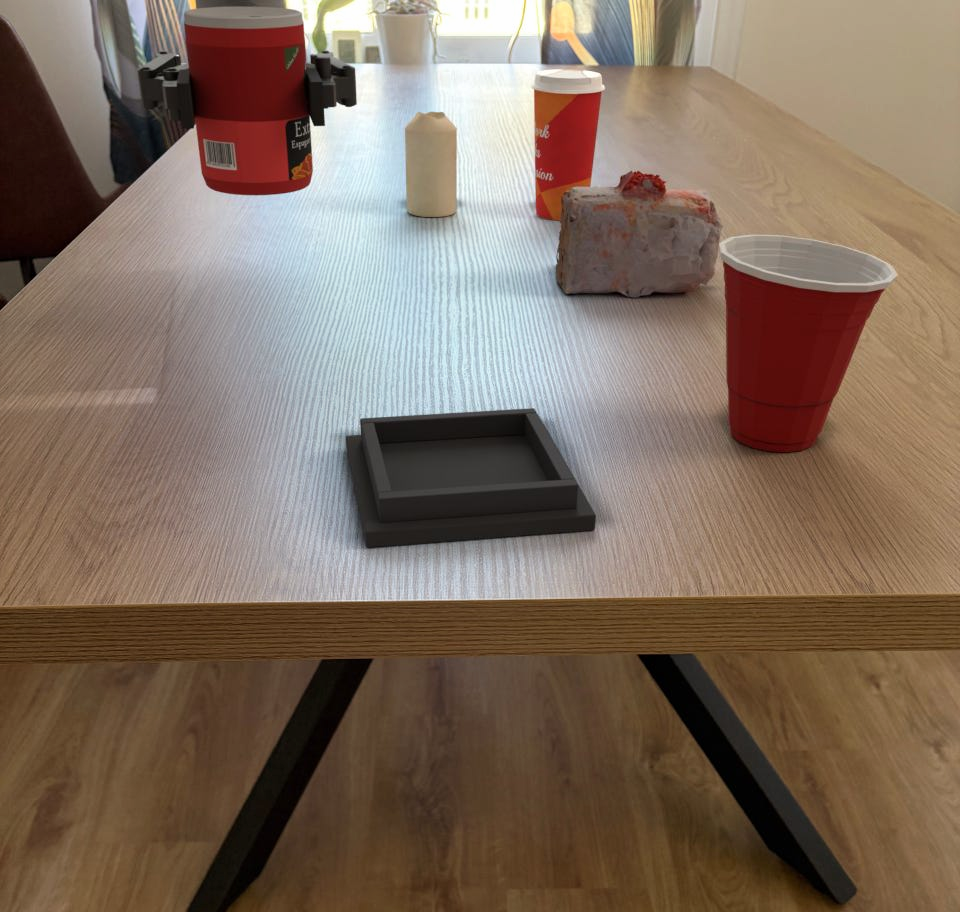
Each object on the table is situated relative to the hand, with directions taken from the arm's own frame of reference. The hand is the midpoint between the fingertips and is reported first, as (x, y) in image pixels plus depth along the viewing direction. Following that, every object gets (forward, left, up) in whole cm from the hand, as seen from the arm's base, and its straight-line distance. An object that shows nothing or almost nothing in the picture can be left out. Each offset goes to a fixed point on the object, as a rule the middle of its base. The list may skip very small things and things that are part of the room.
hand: (252, 105), depth 74 cm
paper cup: (+32, +42, -18) cm, 56 cm away
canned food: (0, +5, -6) cm, 8 cm away
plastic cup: (+32, -18, -18) cm, 41 cm away
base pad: (+10, -22, -18) cm, 30 cm away
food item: (+32, +15, -18) cm, 40 cm away
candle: (+18, +45, -18) cm, 52 cm away
